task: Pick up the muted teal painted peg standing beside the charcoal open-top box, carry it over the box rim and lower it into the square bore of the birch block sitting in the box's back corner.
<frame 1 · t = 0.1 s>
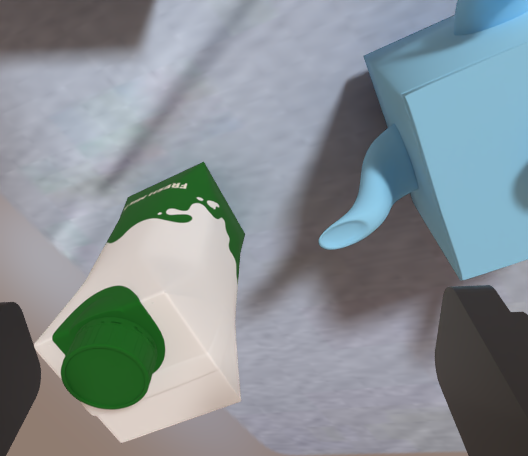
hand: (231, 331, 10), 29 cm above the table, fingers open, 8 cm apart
teakettle: (461, 94, 37), on the table
milk carton: (188, 215, 42), on the table
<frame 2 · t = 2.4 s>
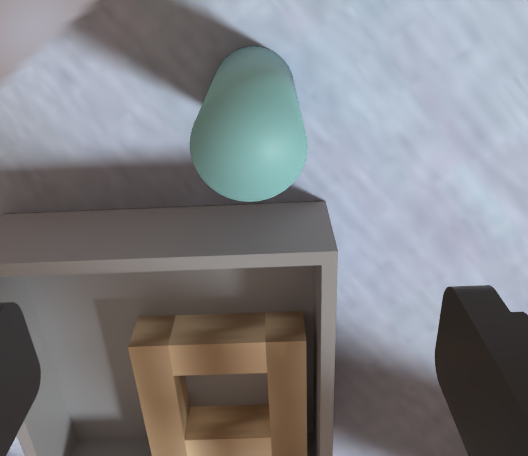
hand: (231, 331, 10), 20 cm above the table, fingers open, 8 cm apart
peg: (253, 88, 28), on the table
open box: (182, 334, 36), on the table
bore block: (227, 375, 36), resting on open box
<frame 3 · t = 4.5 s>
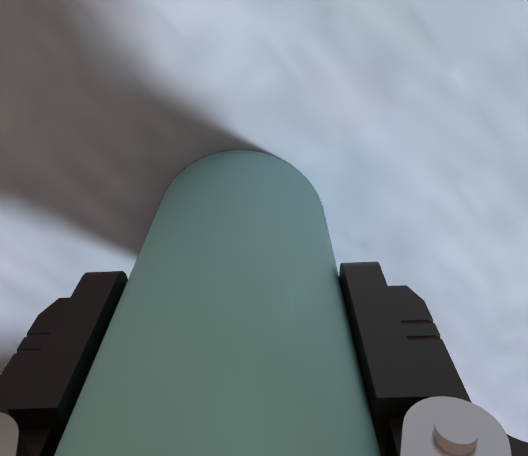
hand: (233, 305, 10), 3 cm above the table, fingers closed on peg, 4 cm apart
peg: (241, 229, 13), on the table, touching gripper
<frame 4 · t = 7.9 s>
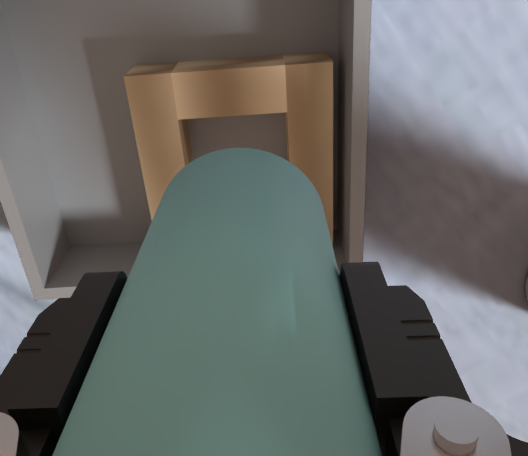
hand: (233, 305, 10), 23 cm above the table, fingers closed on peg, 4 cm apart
peg: (241, 227, 13), point 20 cm above the table, touching gripper
open box: (186, 100, 31), on the table
bore block: (238, 149, 32), resting on open box
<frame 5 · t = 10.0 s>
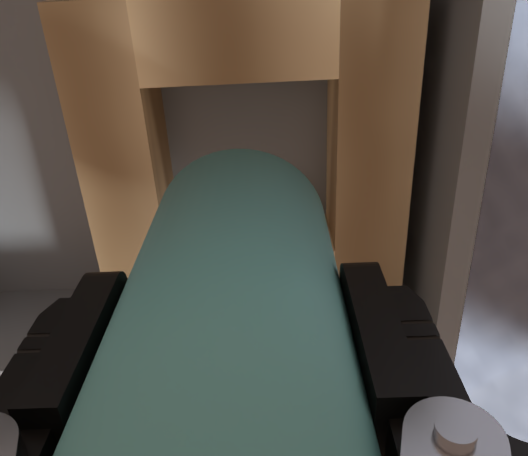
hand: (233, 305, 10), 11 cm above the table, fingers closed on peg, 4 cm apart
peg: (241, 228, 13), point 8 cm above the table, touching gripper
open box: (163, 63, 19), on the table
bore block: (247, 146, 19), resting on open box
when the fingers open (5 cm above the table, at t = 11.6 s): peg stays where it is, resting on open box.
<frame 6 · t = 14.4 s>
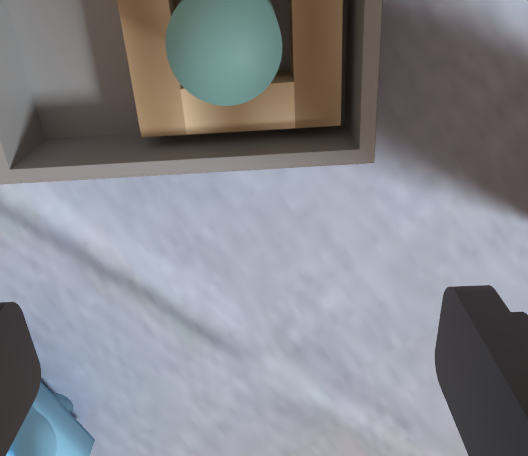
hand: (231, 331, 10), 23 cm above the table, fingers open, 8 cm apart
peg: (234, 17, 28), point 1 cm above the table, touching open box
bore block: (234, 17, 28), resting on open box
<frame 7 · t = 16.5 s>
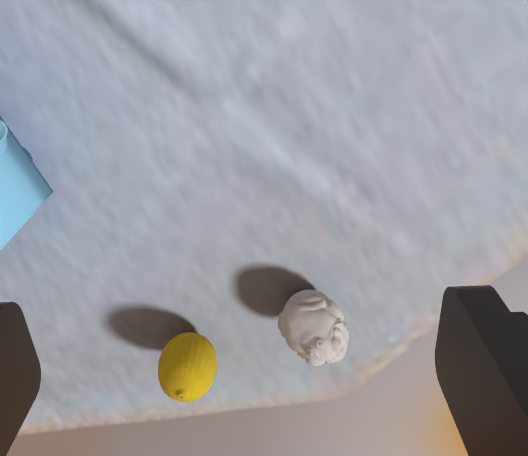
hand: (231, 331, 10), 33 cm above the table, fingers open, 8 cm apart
lemon: (193, 336, 52), on the table
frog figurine: (309, 300, 50), on the table
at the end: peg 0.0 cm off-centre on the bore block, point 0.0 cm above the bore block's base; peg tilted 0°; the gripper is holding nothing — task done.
